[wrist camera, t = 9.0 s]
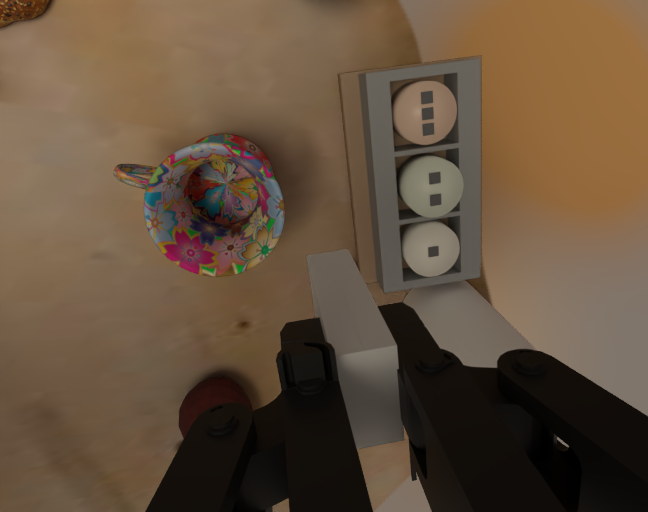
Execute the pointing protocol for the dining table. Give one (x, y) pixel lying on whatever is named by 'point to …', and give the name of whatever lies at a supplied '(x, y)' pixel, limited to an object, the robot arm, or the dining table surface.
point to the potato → (209, 399)
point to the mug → (211, 205)
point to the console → (392, 151)
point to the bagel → (20, 10)
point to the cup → (465, 323)
